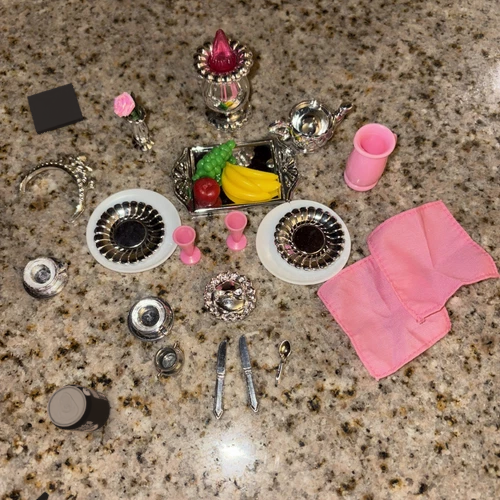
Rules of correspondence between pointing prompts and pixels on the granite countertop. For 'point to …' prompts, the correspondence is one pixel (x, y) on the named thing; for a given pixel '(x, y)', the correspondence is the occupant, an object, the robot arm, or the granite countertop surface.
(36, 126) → the mat
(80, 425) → the beverage can
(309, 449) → the granite countertop surface
